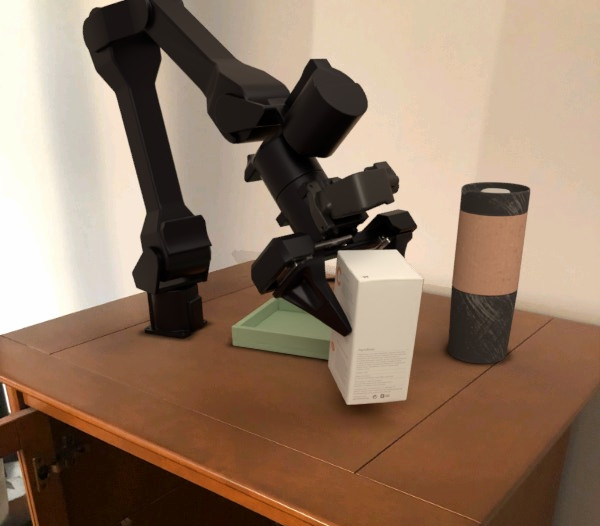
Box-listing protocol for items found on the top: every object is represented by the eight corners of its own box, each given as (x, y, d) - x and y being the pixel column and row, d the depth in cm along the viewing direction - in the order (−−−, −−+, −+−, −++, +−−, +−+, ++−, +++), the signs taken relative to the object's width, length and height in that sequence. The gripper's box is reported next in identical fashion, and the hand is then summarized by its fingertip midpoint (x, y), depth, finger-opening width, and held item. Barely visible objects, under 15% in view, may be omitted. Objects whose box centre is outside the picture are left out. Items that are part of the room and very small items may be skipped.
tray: (232, 345, 88) (231, 326, 86) (275, 312, 99) (275, 295, 98) (378, 367, 81) (378, 347, 80) (406, 329, 92) (407, 311, 91)
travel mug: (519, 351, 85) (543, 186, 76) (489, 370, 80) (511, 195, 71) (465, 336, 89) (482, 179, 80) (433, 353, 84) (448, 188, 75)
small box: (407, 402, 67) (426, 278, 60) (345, 406, 66) (357, 280, 59) (383, 363, 74) (397, 247, 67) (326, 366, 73) (335, 249, 66)
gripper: (267, 141, 55) (363, 301, 53) (409, 125, 67) (492, 257, 65) (214, 223, 64) (295, 363, 62) (348, 196, 75) (419, 314, 73)
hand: (380, 322), depth 65 cm, fingers closed on small box, 9 cm apart
